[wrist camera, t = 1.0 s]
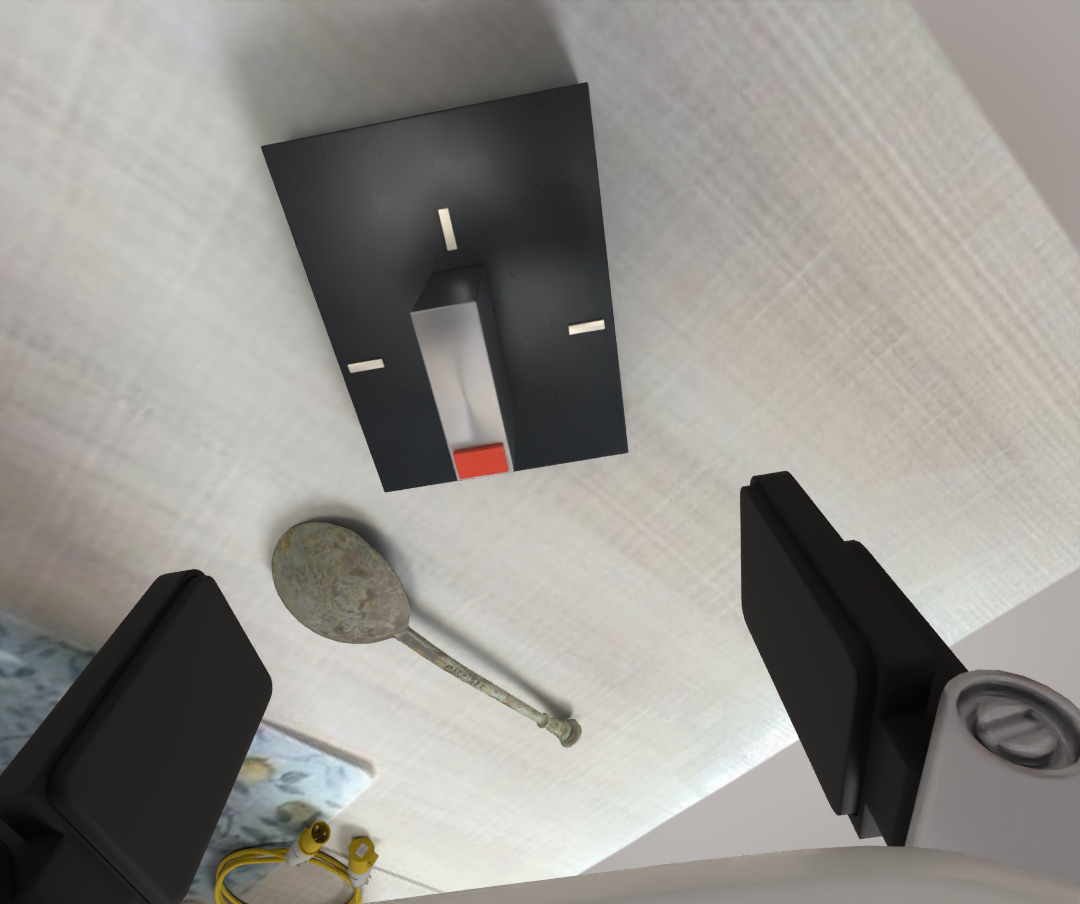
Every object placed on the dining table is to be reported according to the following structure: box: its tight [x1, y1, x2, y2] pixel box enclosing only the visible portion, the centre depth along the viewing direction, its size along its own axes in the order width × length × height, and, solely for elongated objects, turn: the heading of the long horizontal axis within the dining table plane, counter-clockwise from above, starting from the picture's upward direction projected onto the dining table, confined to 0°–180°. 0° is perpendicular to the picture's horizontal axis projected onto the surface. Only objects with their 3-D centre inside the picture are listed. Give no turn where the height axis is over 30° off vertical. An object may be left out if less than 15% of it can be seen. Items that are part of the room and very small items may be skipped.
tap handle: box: [410, 265, 515, 481], centre depth 21 cm, size 6×2×5 cm, turn 10°
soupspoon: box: [272, 521, 582, 748], centre depth 33 cm, size 22×3×7 cm
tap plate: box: [261, 82, 628, 492], centre depth 24 cm, size 14×11×3 cm
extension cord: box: [215, 820, 378, 904], centre depth 46 cm, size 12×16×2 cm
